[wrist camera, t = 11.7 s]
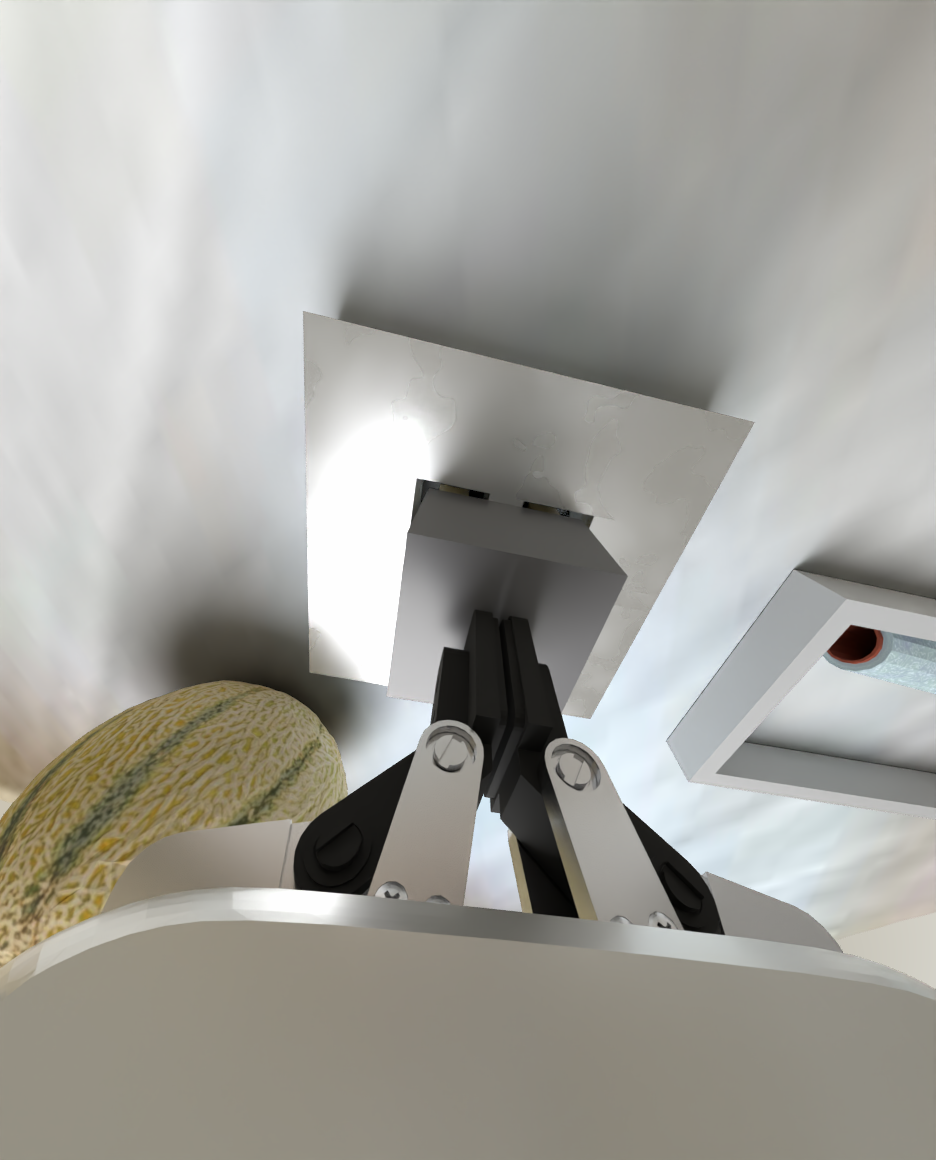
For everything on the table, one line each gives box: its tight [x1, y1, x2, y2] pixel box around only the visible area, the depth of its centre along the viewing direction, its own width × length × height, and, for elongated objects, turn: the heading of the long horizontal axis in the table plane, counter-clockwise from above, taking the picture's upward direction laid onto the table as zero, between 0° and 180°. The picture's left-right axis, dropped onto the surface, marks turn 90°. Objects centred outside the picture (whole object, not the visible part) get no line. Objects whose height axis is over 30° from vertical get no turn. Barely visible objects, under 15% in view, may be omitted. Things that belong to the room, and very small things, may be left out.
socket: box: [303, 311, 754, 719], centre depth 17 cm, size 16×16×3 cm
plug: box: [386, 484, 628, 713], centre depth 15 cm, size 6×6×8 cm
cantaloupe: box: [0, 680, 348, 968], centre depth 18 cm, size 15×15×15 cm
